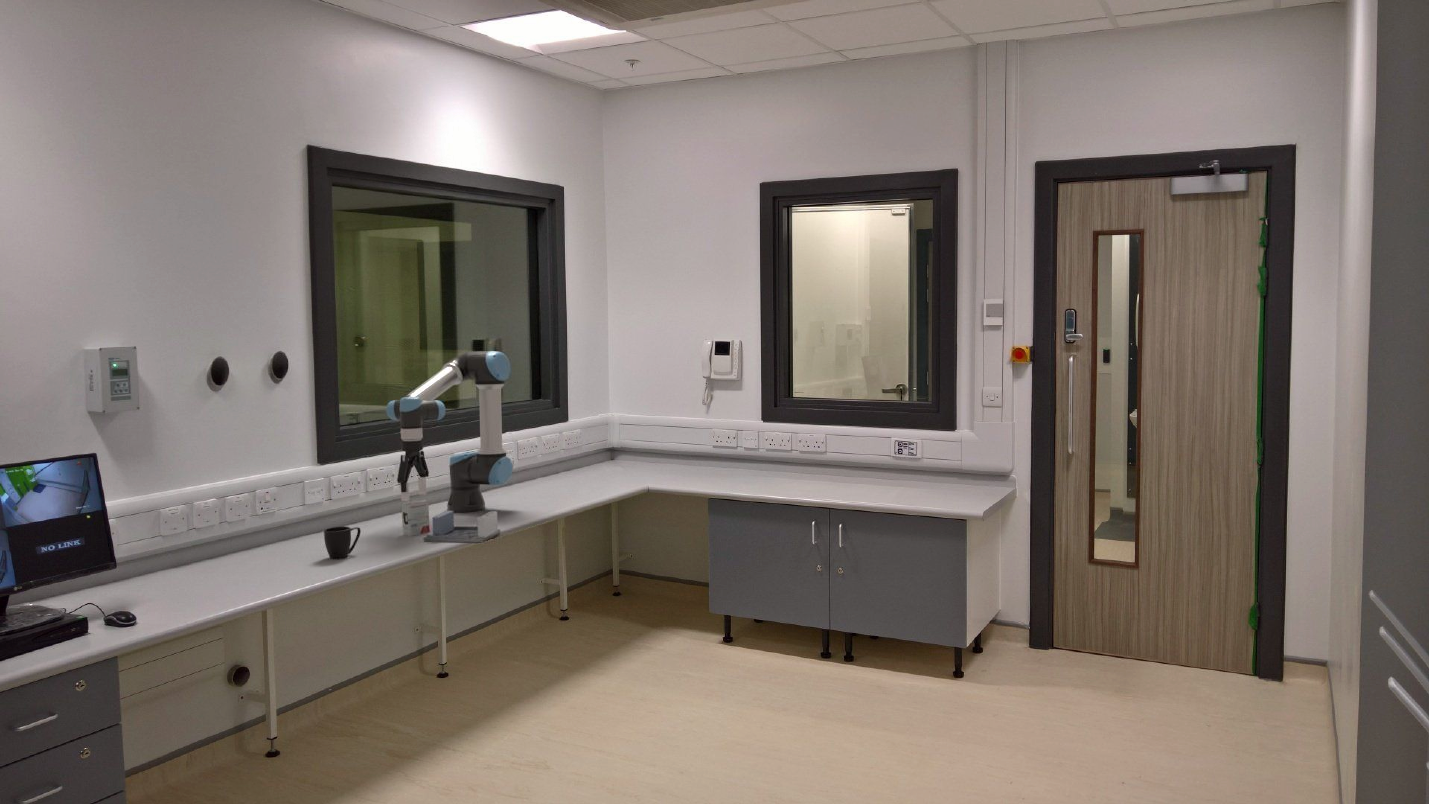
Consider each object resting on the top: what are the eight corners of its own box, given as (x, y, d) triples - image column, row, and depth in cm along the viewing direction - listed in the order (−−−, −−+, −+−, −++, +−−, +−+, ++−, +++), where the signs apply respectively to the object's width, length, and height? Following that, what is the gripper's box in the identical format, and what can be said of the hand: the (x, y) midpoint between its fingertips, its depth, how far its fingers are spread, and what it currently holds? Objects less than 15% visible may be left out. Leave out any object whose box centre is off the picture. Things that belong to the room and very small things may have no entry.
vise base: (443, 531, 368) (442, 509, 367) (500, 532, 364) (499, 510, 364) (423, 541, 352) (422, 518, 352) (482, 542, 349) (481, 519, 348)
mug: (367, 554, 334) (365, 526, 333) (332, 561, 325) (330, 532, 325) (355, 551, 340) (354, 523, 339) (321, 557, 331) (319, 529, 330)
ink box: (422, 530, 371) (421, 499, 370) (430, 532, 368) (428, 500, 367) (402, 534, 365) (400, 502, 364) (410, 536, 362) (408, 504, 361)
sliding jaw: (447, 529, 365) (446, 510, 365) (454, 529, 365) (453, 511, 364) (433, 536, 354) (432, 517, 353) (439, 536, 353) (439, 517, 353)
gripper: (417, 436, 377) (420, 492, 378) (385, 443, 352) (387, 503, 354) (436, 436, 375) (438, 492, 377) (405, 443, 351) (407, 503, 352)
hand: (414, 497), depth 365 cm, fingers open, 13 cm apart
